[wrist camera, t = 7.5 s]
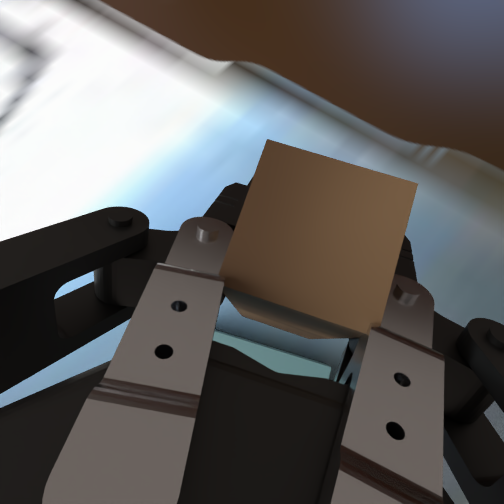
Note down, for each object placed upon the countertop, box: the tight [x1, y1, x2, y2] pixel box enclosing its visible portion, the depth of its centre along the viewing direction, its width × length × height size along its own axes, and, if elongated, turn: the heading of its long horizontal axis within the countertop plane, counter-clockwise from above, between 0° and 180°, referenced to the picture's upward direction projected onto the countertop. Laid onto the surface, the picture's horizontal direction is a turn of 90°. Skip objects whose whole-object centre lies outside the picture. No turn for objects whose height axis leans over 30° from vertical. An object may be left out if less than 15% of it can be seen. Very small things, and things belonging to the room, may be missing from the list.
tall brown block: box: [218, 139, 418, 339], centre depth 12 cm, size 3×3×10 cm
